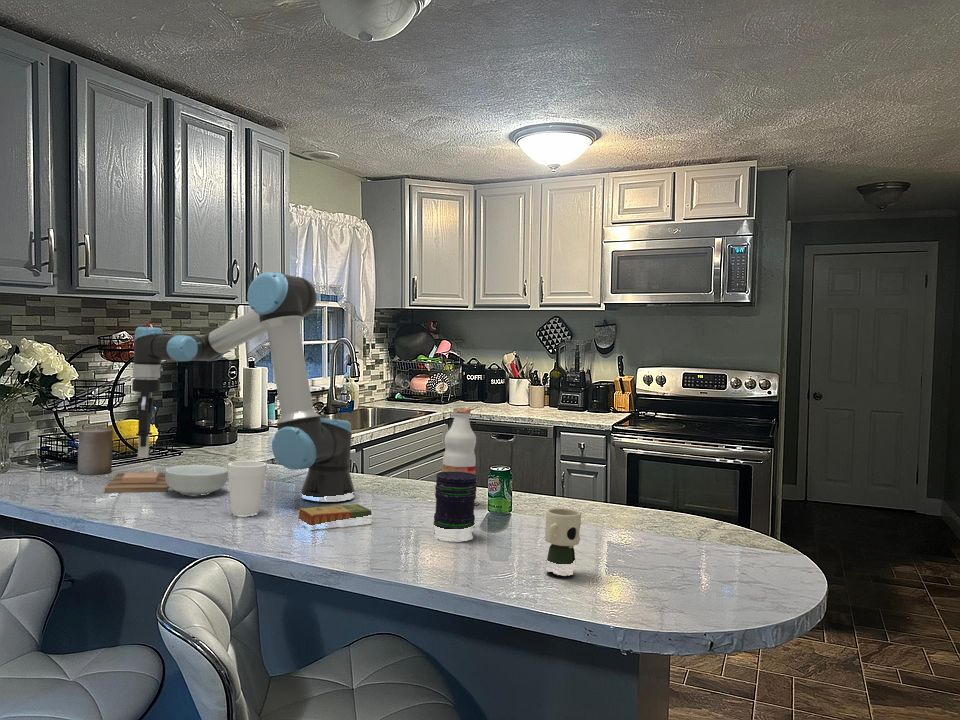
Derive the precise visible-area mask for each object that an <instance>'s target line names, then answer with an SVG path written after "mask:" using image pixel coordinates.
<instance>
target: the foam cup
mask: <svg viewBox="0 0 960 720" xmlns="http://www.w3.org/2000/svg"><path fill="white" fill-rule="evenodd" d="M267 465H268V463H266V462H264V461H263V462H262V461H256V460H239V461H238V460H237V461H236V460H235V461H232V462H228V463H227V469H228V471H227V473H228V484H229V485H228V486H229V496H230V497H229V499H230V505H231V506H230V509H231V514H232V513H233V514H234V515H251V514H255V513H257V512H258V513H259V512H260V505H261V502H262V501H261V500H262V495H263V491H264V490H263V489H264V484H265V478H266V474H267V470H268V468H267V467H268V466H267Z"/></svg>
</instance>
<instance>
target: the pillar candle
mask: <svg viewBox="0 0 960 720" xmlns="http://www.w3.org/2000/svg"><path fill="white" fill-rule="evenodd" d="M113 435H114V432H113V428H110V427H109V428H108V427H98V425H96V426H95V427H88V428H87V427H86V428H81V429H78V441H77V442H78V445H77V447H78V449H77V474H80V475H85V476H92V475H93V476H96V475H104V474H109V473H112V472H113V471H112V467H113V466H112V464H113V441H114V440H113V438H114V437H113Z"/></svg>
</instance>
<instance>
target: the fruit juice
mask: <svg viewBox="0 0 960 720" xmlns="http://www.w3.org/2000/svg"><path fill="white" fill-rule="evenodd" d="M452 411H453V416H454V417H453V420H452V421H453V422H452V424H451V426H450V428H449V430H448V431H447V432H446V433H445V436H444V444H445V451H444V453H443V457H442V472H466V473H471V474H475V475H476V462H477V461H476V454H475V449H476V444H477V436H476V433H475V432H474V430H473V429H472V427H471V423H470V415H471V409H470V408H459V407H458V408H457V407H455V408H453V410H452Z"/></svg>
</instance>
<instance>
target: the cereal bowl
mask: <svg viewBox="0 0 960 720" xmlns="http://www.w3.org/2000/svg"><path fill="white" fill-rule="evenodd" d="M227 471H228V467H224V466H223V467H222V466H218V465H207V464H182V465H174V466H170V467H167V468H166V469H165V471H164V473H165V479H166V483H167V485H168V486H169V488H170V489H171V490H173V491H176V492H179V493H180V495H182V494H183V495H182V496H184V495H201V494H207V493H210V494H211V493H213V492H216V491H218V490H220V489H221V488H223V487H224V486H225V484H226V483H227V481H228V479H229V476H228V473H227Z"/></svg>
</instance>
